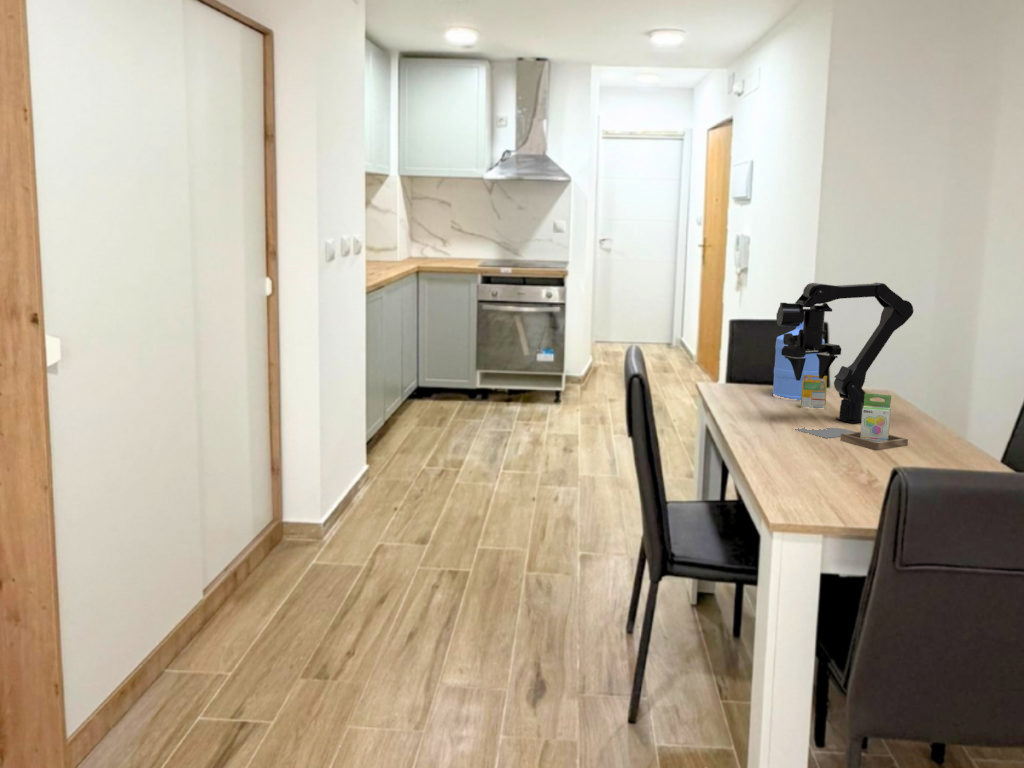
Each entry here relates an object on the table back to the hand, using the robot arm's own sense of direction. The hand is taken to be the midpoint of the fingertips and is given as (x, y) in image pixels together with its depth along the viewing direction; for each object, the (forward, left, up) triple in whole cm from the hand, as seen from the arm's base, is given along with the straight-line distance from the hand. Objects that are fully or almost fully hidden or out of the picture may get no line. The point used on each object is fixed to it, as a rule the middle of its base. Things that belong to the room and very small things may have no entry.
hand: (809, 379), depth 280 cm
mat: (+5, +12, -13) cm, 18 cm away
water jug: (-25, -29, -13) cm, 40 cm away
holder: (+4, +28, -13) cm, 31 cm away
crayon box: (-16, -13, -13) cm, 24 cm away
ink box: (+4, +28, -13) cm, 31 cm away
